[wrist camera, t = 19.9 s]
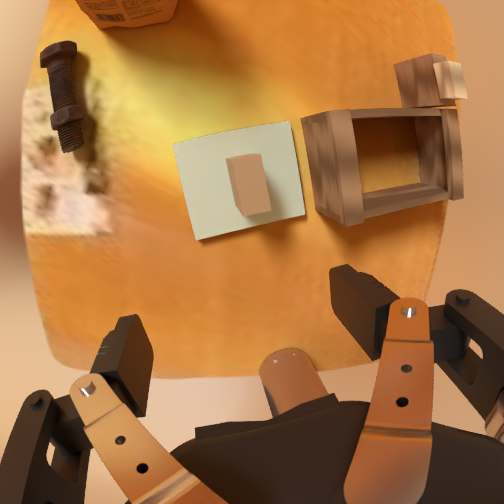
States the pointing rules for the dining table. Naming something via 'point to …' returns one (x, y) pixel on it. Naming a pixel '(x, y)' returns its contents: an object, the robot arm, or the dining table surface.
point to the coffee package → (127, 12)
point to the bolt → (63, 94)
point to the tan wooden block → (450, 80)
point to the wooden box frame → (346, 161)
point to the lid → (240, 178)
